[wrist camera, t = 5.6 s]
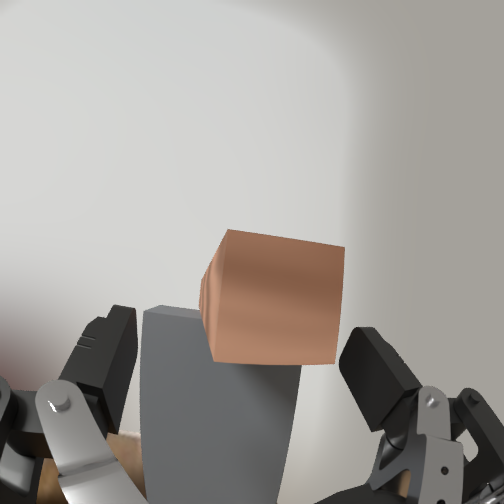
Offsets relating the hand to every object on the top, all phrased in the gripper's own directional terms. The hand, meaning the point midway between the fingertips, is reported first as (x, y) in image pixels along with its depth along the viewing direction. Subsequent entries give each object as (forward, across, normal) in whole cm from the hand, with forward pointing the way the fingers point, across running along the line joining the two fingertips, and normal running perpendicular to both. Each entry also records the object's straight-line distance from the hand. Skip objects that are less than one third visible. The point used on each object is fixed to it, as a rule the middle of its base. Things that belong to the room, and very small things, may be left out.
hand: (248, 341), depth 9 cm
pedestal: (-7, 0, +33) cm, 34 cm away
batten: (+8, 0, +5) cm, 10 cm away
